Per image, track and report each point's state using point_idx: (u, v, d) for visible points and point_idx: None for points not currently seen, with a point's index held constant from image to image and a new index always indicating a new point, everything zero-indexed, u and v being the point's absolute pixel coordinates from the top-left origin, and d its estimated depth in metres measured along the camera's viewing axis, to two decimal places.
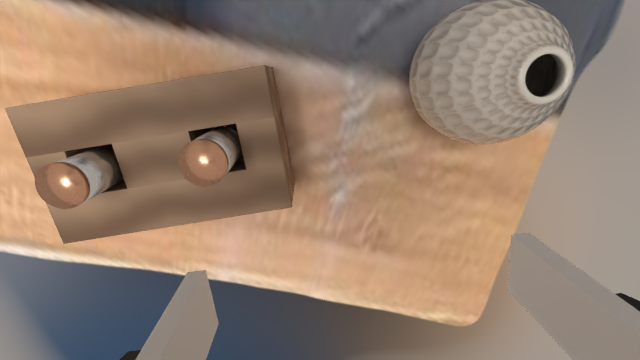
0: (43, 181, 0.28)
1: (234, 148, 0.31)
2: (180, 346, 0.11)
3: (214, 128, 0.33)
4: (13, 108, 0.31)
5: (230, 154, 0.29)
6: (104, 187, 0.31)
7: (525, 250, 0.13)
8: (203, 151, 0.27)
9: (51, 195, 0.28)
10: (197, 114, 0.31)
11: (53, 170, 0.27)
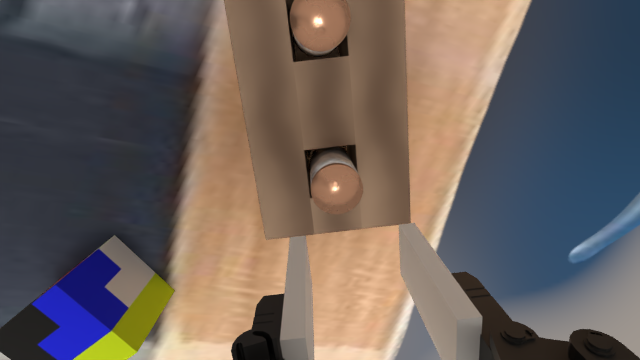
0: (329, 205, 0.26)
1: None
2: (307, 291, 0.13)
3: None
4: (266, 232, 0.32)
5: None
6: (348, 160, 0.28)
7: (404, 237, 0.15)
8: (304, 14, 0.22)
9: (346, 201, 0.26)
10: (273, 47, 0.27)
11: (318, 192, 0.26)
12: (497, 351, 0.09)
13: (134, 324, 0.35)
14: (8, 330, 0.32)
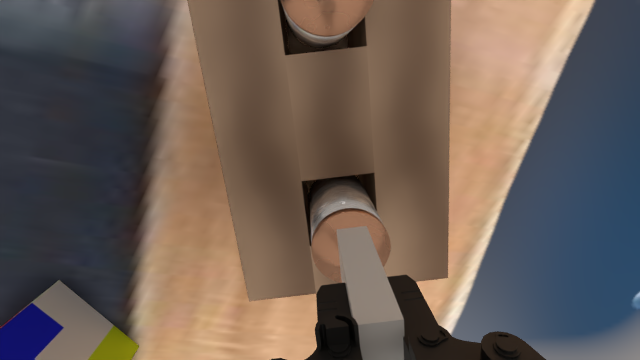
0: (340, 270, 0.17)
1: None
2: None
3: None
4: (249, 291, 0.23)
5: None
6: (365, 197, 0.19)
7: (354, 240, 0.15)
8: None
9: None
10: (255, 33, 0.18)
11: (322, 253, 0.17)
12: (415, 357, 0.09)
13: None
14: None
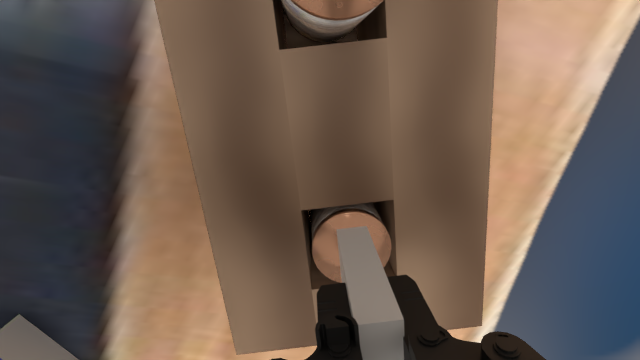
0: (340, 271, 0.17)
1: None
2: None
3: None
4: (237, 343, 0.19)
5: None
6: None
7: (354, 240, 0.15)
8: None
9: None
10: (240, 20, 0.14)
11: (323, 253, 0.17)
12: (415, 357, 0.09)
13: None
14: None
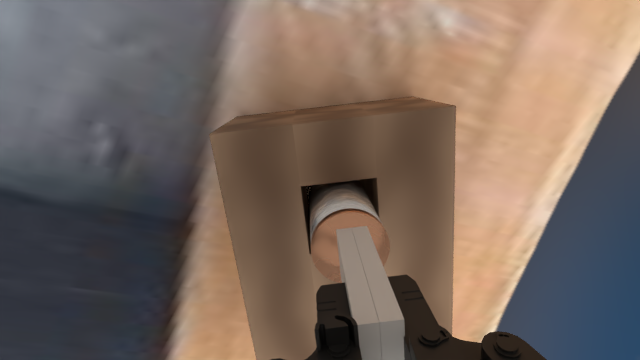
0: None
1: (336, 189, 0.20)
2: None
3: None
4: None
5: (342, 201, 0.18)
6: None
7: (354, 240, 0.15)
8: (330, 246, 0.17)
9: None
10: (284, 238, 0.21)
11: None
12: (416, 357, 0.09)
13: None
14: None
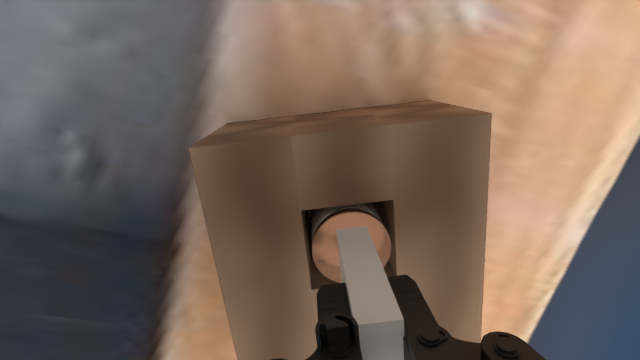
0: None
1: None
2: None
3: None
4: None
5: None
6: None
7: (354, 240, 0.15)
8: (331, 246, 0.17)
9: None
10: (281, 272, 0.17)
11: None
12: (415, 357, 0.09)
13: None
14: None
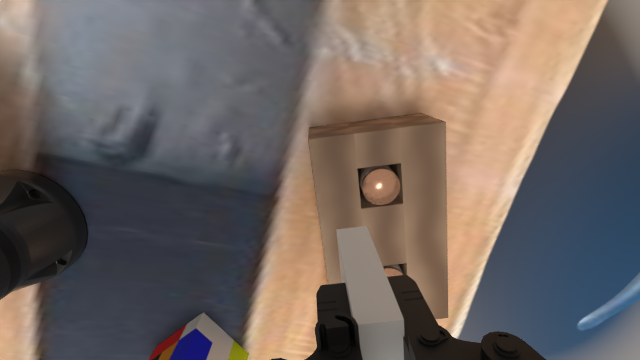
0: None
1: None
2: None
3: None
4: None
5: None
6: None
7: (354, 240, 0.15)
8: (371, 185, 0.35)
9: None
10: (347, 199, 0.36)
11: None
12: (415, 357, 0.09)
13: None
14: None
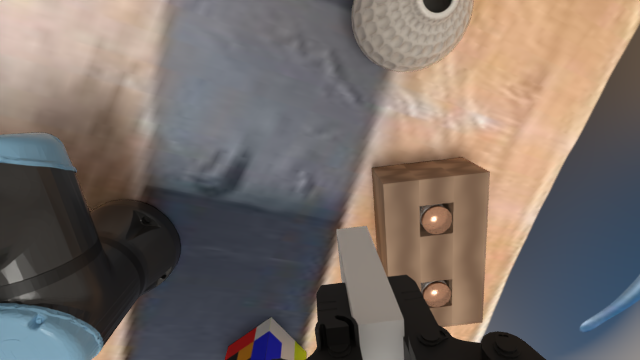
0: (432, 302, 0.49)
1: None
2: None
3: None
4: None
5: None
6: None
7: (354, 240, 0.15)
8: (429, 219, 0.45)
9: (441, 301, 0.49)
10: (409, 229, 0.46)
11: (427, 296, 0.49)
12: (415, 357, 0.09)
13: None
14: None
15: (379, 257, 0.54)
